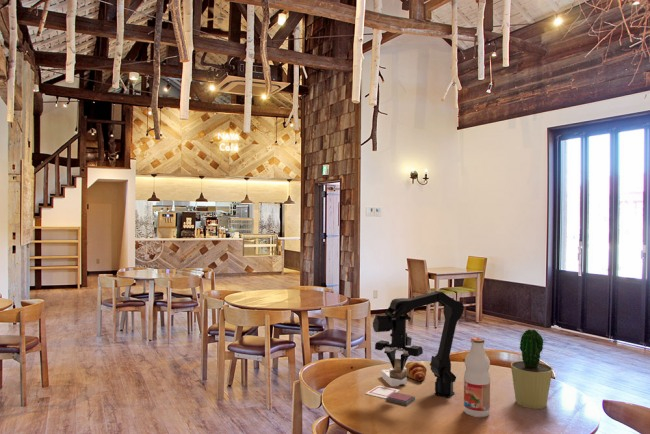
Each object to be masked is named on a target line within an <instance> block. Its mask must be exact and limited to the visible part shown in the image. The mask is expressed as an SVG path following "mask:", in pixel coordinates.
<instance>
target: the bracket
mask: <svg viewBox="0 0 650 434" xmlns="http://www.w3.org/2000/svg"><path fill="white" fill-rule="evenodd" d="M391 370H393V367H389V369H381V374H380V375H381V378H382V379H383V380H384V381H385V382H386V383H387V384H388V385H390V387H400V385H407V381H408V378H407V377H408V376H407V377H405V378H404V379H402V380H398V379H394V378H390V371H391ZM403 370H407V369H406V368H405V366H404V369H403Z"/></svg>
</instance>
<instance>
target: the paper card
mask: <svg viewBox="0 0 650 434" xmlns="http://www.w3.org/2000/svg"><path fill="white" fill-rule="evenodd" d="M400 391H401V390H400V389H397V388H394V387H388V386H383V385H377V386H376V387H374V388H372V389H371V390H369V391H366V392H365V395H368V396H372V397H377V398H380V399H385V400H386V398H387V397H388V396H390V395H391V394H393V393H394V392H397V393H400Z"/></svg>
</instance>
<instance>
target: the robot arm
mask: <svg viewBox="0 0 650 434" xmlns="http://www.w3.org/2000/svg"><path fill="white" fill-rule="evenodd" d="M436 303H438V304H440V305H441V306H442V307H443V312H442V313H443V318H444V324H443V326H442V327H443V328H442V332H441V337H440V341H439V346H438V352H437V354H436V355H435V356H434V355H431V360H430V363H429V366H430V371H431V372H432V373H433V375H434V377H435V378H436V379H435V382H434V395H436V396H441V397H445V398H451V397H452V396H453V395H454V394H455V391H454V383H455V382H456V379H457V376H456V375H455V374H454V372H452V371H451V370H452V363H451V357H450V355H451V350H452V346H453V341H454V338H455V332H456V327H457V323H458V321H460V319H461V318H462V315H463V313H464V310H465V305H464V304H463V302H462V301H459V300H457V299H453V298H452V297H450V296H449V295H448V294H446V293H444V292H442V291H440V290H435V291H432V292H429V293H428V292H427V293H426V294H425V293H424V294H421V295H418V296H415V297H414V296H413V297H409V298H408V297H407V298H406V297H405V298H403V297H401V298H398V297H397V298H394V299H391V302H390V305H389V306H388V308H387V309H386V311H385V312H384V314H375V315H374V316H375V317H374V318H373V321H372V329H373V331H374V332H375V333H384V332H385V333H387V332H390V331H391V332H390V334H389V336H390V337H391V343H390V341H387V340H382V339H381V340H379V341H376V342H375V344H374V349H375V350H377V351H383V350H384V352H383V353H384V354H386V356H387V358H388V360H389V362H390V364H391V368H392V369H394V360H395V359H396V353H397V351H400V352H403V353H401V354H400V359H401V370H403V369H404V367H405V366H406V364H407V360H408V359H409V357H410V356H411V357H419V356H421V355H422V354H423V353H424V352H423V351H424V349H423V347H422V346H419V345H412V340H413V338H412V337H410V336H408V332H407V321H408V320H409V321H411V320H412V318H411V316H410V315H409V313H411V312H412V311H413V310H415V309H417V308H421V307H425V306H428V305H432V304H436ZM409 346H410V347H409Z"/></svg>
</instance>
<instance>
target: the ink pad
mask: <svg viewBox="0 0 650 434" xmlns="http://www.w3.org/2000/svg"><path fill="white" fill-rule="evenodd" d="M415 400H416V396H413V395H410V394H405V393H401V392H394V393H393V394H391V395H390V396H388V397H387V398H386V399H385V401H386V402H389V403H394V404H396V405H402V406H407V407H408V406H409V405H410V404H411V403H412V402H414V401H415Z"/></svg>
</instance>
